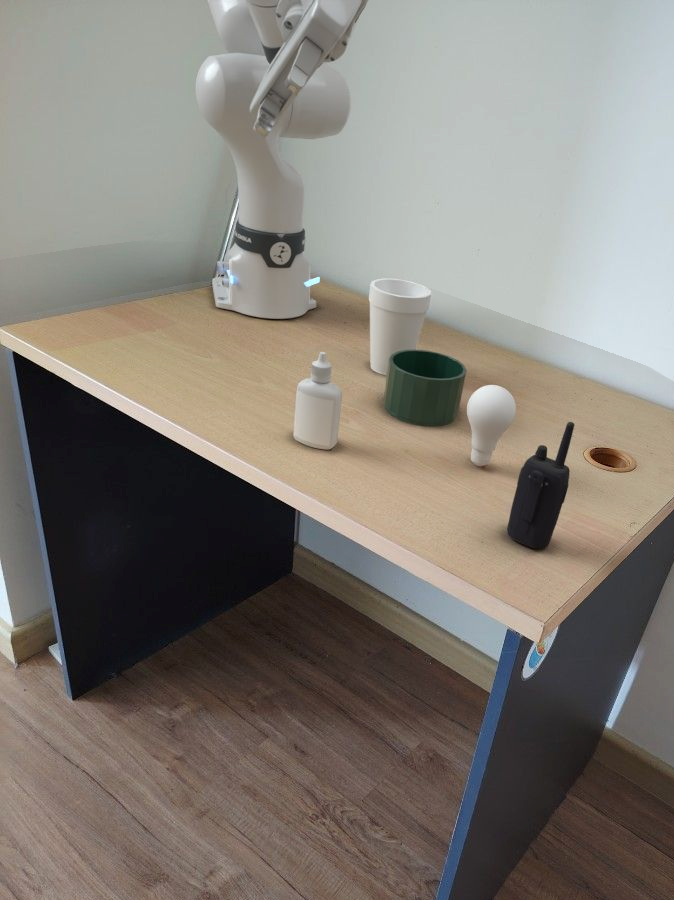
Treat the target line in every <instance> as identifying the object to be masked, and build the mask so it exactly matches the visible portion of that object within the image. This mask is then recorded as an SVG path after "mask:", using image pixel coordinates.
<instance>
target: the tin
mask: <svg viewBox="0 0 674 900" xmlns="http://www.w3.org/2000/svg"><path fill="white" fill-rule="evenodd" d="M467 371H468V369H467V367H466V366H465V364H464V363H462V362H461V361H460V360H459V359H456V358H454V357H452V356H450V355H448V354H444V353H441V352H437V351H431V350H425V349H416V350H403V351H398V352H395V353H394V354H392V355H391V356H390V358H389V363H388V370H387V375H386V377H385V385H384V392H383V393H384V394H383V400H382V401H383V403H382V405H383V406H382V407H383V409H384V410H385V412H387V414H389V415H390V416H391V417H393V418H395V419H397V420H399V421H401V422H405V423H407V424H412V425H415V426H423V427H440V426H441V427H442V426H446V425H450V424H452V423H454V422H455V421H456V420H457V418H458V415H459V412H460V406H461V401H462V396H463V392H464V385H465V381H466V376H467Z"/></svg>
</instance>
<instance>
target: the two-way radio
mask: <svg viewBox="0 0 674 900" xmlns="http://www.w3.org/2000/svg"><path fill="white" fill-rule="evenodd" d="M574 429H575V423H574V422H573V421H568V422H567V423H566V426H565V429H564V432H563V435H562V438H561V440H560V444H559V447H558V451H557V453H556V457H555V459H552V458H550V457H548V446H546V445H543V444H541V445H538V446H537V448H536V450H535V452H534V454H533V455H532V456H530V457H528V458H527V460H526V461H525V462H524V463H523V466H522V467H521V469H520V471H519V475H518V479H517V483H516V489H515V493H514V496H513V499H512V503H511V507H510V508H511V509H510V514H509V517H508V523H507V527H506V531H507V535H508V537H509V538H511V539H512V540H514V541H516V542H518V543H519V544H522V545H524V546H526V547H528V548H532V549H536V550H540V549H546V548H548V547H549V545H550V542H551V540H552V537H553V534H554V532H555V531H554V530H555V528H556V526H557V523H558V520H559V517H560V514H561V510H562V507H563V505H564V503H565V500H566V497H567V493H568V489H569V485H570V484H569V482H570V473H571V472H570V471H571V470H570V468H569V466H568V465H566V464H565V463H566V460H567V456H568V453H569V449H570V445H571V442H572V441H571V440H572V438H573V433H574Z"/></svg>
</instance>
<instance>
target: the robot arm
mask: <svg viewBox="0 0 674 900" xmlns="http://www.w3.org/2000/svg"><path fill="white" fill-rule="evenodd" d="M206 1H207V2H206V3H207V4H208V7H209V11H210V14H211V17H212V19H213V22H214V26H215V29H216V32H217V35H218V37H219V40H220V42H221V44H222V46H223V47H224V49H225V50H226V51H227V53H220V54H213V55H209V56H207V57H206V59H204V61H203V62H202V63H201V65H200V67H199V69H198V71H197V75H196V79H195V86H194V87H195V98H196V102H197V105H198V108H199V111H200V113H201V114H202V116H203V118H204V120H206V122H207V123H208V124H209V125H210V126H211V127H212V128H213V129H214V130H215V131H216V132H217V133H218V135H219V136H220V137H221V139H222V140H223V141H224V143H225V145H226V146H227V148H228V150H229V152H230V154H231V158H232V159H233V162H234V166H235V171H236V177H237V191H238V192H237V193H238V195H237V196H238V220H237V221H236V222H235V227H234V232H233V234H234V236H233V241H234V244H233V245H232V246H231V248H230V249H229V250H228V252H227V253H225V254H224V261H223V260H217V261H216V274H217V275H220V276H216V277H213V278H212V280H211V287H212V292H213V297H214V303H215V307H217V308H219V309H223V310H224V309H225V310H228V311H233V312H237V313H240V314H243V315H247V316H250V317H256V318H261V319H273V320H276V319H277V320H279V319H280V320H281V319H282V320H285V319H294V318H299V317H301V316H304V315H305V314H306V313H307V312H308V311H310V310H312V309H315V308H317V300H315V299H313V298H312V297H311V286H313V285H315V284H318V283H320V279H321V278H320V276H317V277H315V278H311V262H310V261H309V260H308V258H307V257H306V256H305V255H304V252H305V247H306V245H305V244H306V229H305V228H304V220H305V219H304V218H305V204H306V184H305V181H304V179H303V177H302V175H301V174H300V172H299V171H298V170H297V169H296V168H295V167H294V166H292V165H290V164H289V163H288V162H286V160H284V159H283V158H282V156H281V154H280V150H279V138H289V139H303V140H317V139H323V138H328V137H333V136H337V135H339V134H340V133H341V132H342V131H343V130H344V129H345V126H346V124H347V123H348V120H349V118H350V113H351V109H352V108H351V107H352V100H351V99H352V98H351V92H350V88H349V85H348V84H347V81H346V80H345V78H344V76H343V75H342V73H341V72H339V71H338V70H336V69H334V67H331V66H330V65H328V64H327V63H331V62H335V61H337V60H339V59H340V58H341V57H342V56H343V55H344V54H345V52H346V51H347V48H348V45H349V43H350V41H351V39H352V36H353V33H354V31H355V28H356V26H357V23H358V22H359V18H360V16H361V14H362V13H363V11H364V10H365V8H366V5H367V4H368V2H369V0H206Z"/></svg>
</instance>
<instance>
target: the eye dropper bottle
mask: <svg viewBox="0 0 674 900" xmlns="http://www.w3.org/2000/svg"><path fill="white" fill-rule="evenodd" d="M332 365H333V364H332V363H330V362H329V361H328V360H327V354H326V351H325V352H324V351H320V352H319V354H318V358H317V360H313V361H312V362H311V366H310V367H311V368H310V377H307V378H305V379H302V380H301V381H300V382H298V384H297V386H296V392H295V393H296V394H295V403H294V404H295V405H294V419H293V436H292V437H293V438H294V440H296V441H297V442H298V443H300V444H302V445H304V446H307V447H310V448H314V449H320V450H331V449H333V448H334V447H335V446H336V445H337V444H338V440H339V433H340V432H339V431H340V423H341V422H340V421H341V411H342V401H343V393H342V390H341V388H340V387H338V385H336V384H335V383H333V382H332V381H331V380H332V379H331V378H332V368H333V366H332Z"/></svg>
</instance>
